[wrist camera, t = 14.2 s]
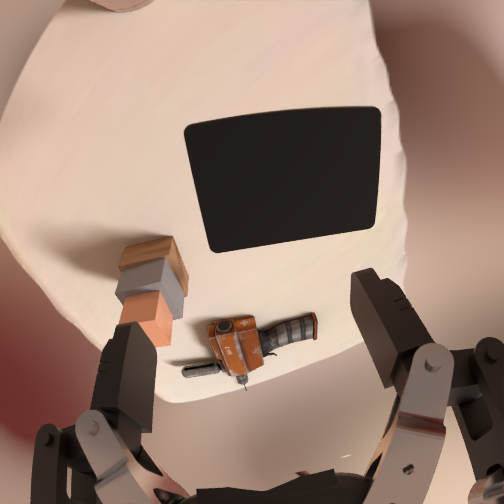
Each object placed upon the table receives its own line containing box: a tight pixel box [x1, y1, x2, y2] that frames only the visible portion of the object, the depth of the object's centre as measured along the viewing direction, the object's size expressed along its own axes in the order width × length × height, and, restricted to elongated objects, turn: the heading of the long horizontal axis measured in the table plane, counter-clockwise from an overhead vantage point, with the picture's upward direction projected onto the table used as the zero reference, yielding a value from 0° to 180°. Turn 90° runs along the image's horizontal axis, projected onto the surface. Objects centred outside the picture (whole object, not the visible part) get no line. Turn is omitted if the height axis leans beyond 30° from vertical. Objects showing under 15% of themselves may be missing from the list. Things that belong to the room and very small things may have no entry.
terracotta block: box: [119, 291, 173, 347], centre depth 35 cm, size 5×5×5 cm
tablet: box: [184, 107, 382, 253], centre depth 40 cm, size 27×1×20 cm
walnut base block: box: [119, 236, 189, 297], centre depth 43 cm, size 8×8×5 cm
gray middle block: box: [115, 258, 184, 320], centre depth 39 cm, size 7×7×5 cm
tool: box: [182, 313, 318, 391], centre depth 61 cm, size 4×27×30 cm
